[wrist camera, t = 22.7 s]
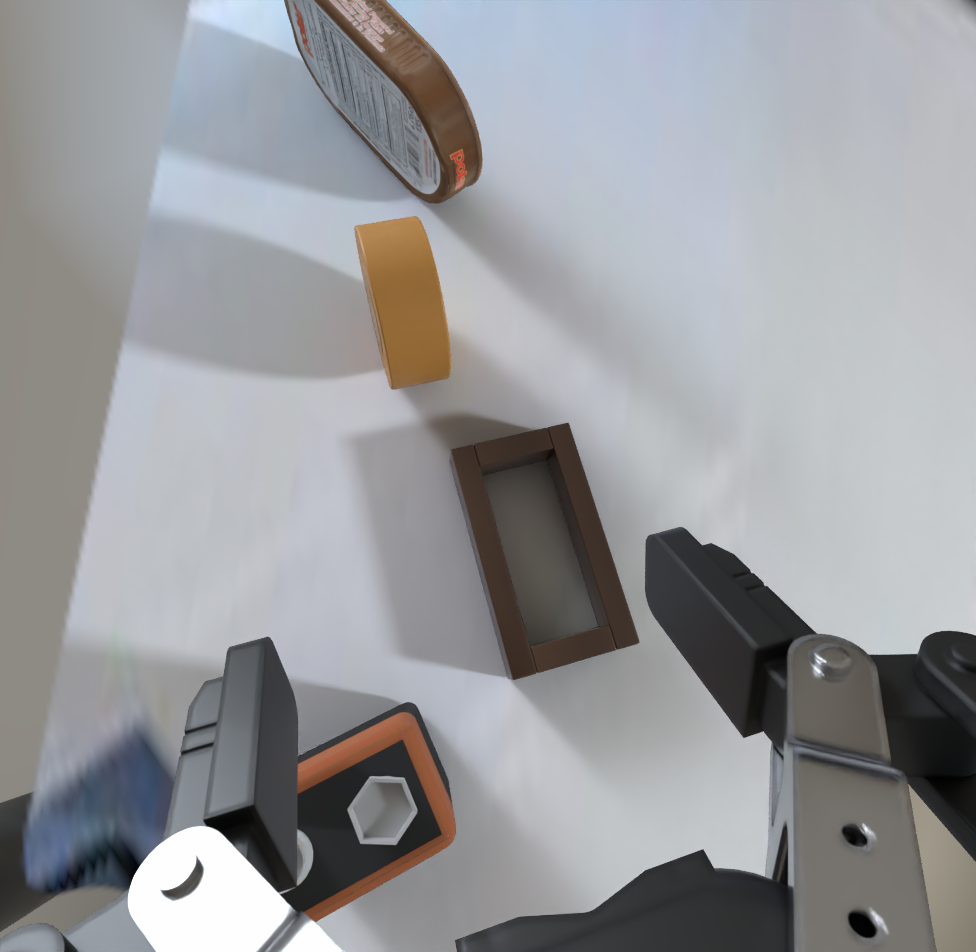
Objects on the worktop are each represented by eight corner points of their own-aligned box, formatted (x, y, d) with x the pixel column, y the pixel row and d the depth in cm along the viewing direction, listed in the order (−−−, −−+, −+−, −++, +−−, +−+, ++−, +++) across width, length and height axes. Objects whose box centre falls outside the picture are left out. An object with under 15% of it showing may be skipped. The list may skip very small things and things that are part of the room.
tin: (480, 212, 38) (494, 92, 30) (440, 238, 37) (444, 122, 29) (331, 55, 40) (307, -95, 32) (291, 77, 39) (256, -72, 31)
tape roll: (397, 421, 32) (376, 305, 25) (369, 315, 36) (344, 191, 29) (454, 408, 33) (448, 291, 26) (421, 305, 37) (408, 180, 30)
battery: (451, 786, 29) (463, 851, 19) (313, 861, 27) (251, 972, 18) (413, 697, 30) (407, 717, 20) (277, 765, 28) (201, 822, 19)
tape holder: (507, 678, 30) (512, 680, 28) (449, 461, 33) (450, 449, 31) (627, 643, 31) (640, 642, 29) (560, 435, 34) (568, 422, 32)
